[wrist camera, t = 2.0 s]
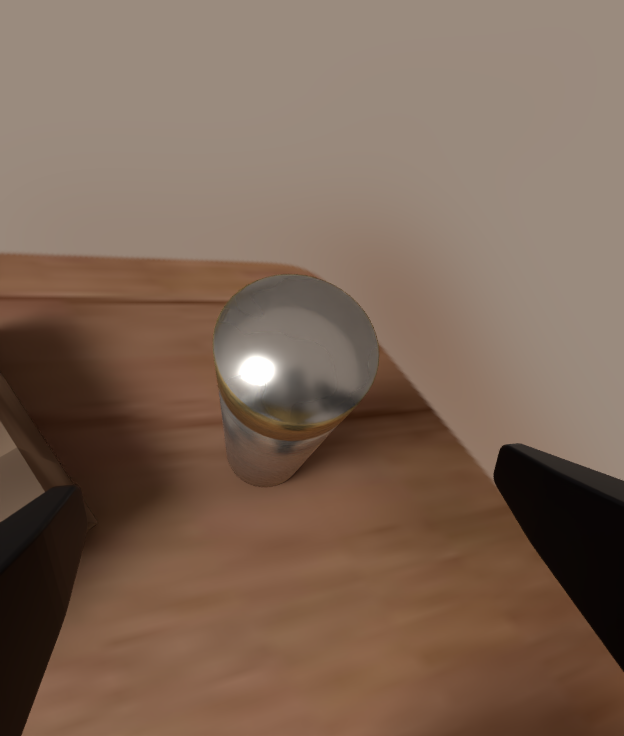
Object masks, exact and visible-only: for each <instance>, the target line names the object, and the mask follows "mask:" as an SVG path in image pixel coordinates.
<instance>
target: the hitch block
mask: <svg viewBox="0 0 624 736" xmlns="http://www.w3.org/2000/svg"><path fill="white" fill-rule="evenodd" d="M62 485H73V483H72V482H71V480H70V479H69V477H68V476H67V474H66V473H65V471H64V469H63V468H62V466H61V465H60V463H59V462H58V460H57V459H56V457H55V456H54V454H53V452H52V451H51V449H50V448H49V446H48V445H47V443H46V442H45V440H44V439H43V437H42V435H41V434H40V432H39V431H38V429H37V428H36V426H35V425H34V423H33V422H32V420H31V418H30V417H29V415H28V414H27V412H26V411H25V409H24V408H23V406H22V405H21V403H20V401H19V400H18V398H17V397H16V395H15V394H14V392H13V391H12V389H11V388H10V386H9V384H8V383H7V381H6V380H5V378H4V377H3V375H2V374H1V372H0V522H2V521H3V520H4V519H6V518H7V517H9V516H10V515H12V514H13V513H15V512H16V511H18V510H19V509H21V508H22V507H24V506H25V505H26V504H28V503H29V502H31V501H32V500H34V499H35V498H37V497H38V496H40V495H41V494H43V493H44V492H46V491H47V490H49V489H50V488H52V487H54V486H62ZM84 505H85V509H86V514H87V519H88V528H87V531H88V530H89V529H90V528H92V527H93V526H95V525H96V524H97V523H98V522H97V520H96V519H95V517H94V516H93V514H92V513H91V511H90V510H89V508H88V507H87V505H86V503H85V502H84Z"/></svg>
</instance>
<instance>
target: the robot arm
mask: <svg viewBox="0 0 624 736" xmlns="http://www.w3.org/2000/svg"><path fill="white" fill-rule="evenodd" d="M494 482H495V484H496V486H497V488H498V489H499V491H500V493H501V495H502V496H503V498H504V500H505V501H506V503H507V505H508V506H509V508H510V510H511V511H512V513H513V515H514V516H515V518H516V520H517V521H518V523H519V525H520V526H521V528H522V530H523V531H524V533H525V535H526V536H527V538H528V539H529V541H530V542H531V544H532V545H533V547H534V548H535V550H536V551H537V553H538V554H539V555H540V557H541V558H542V560H543V561H544V562H545V564H546V565H547V566H548V568H549V569H550V571H551V572H552V573H553V575H554V576H555V578H556V579H557V580H558V582H559V583H560V584H561V586H562V587H563V589H564V590H565V591H566V593H567V594H568V596H569V597H570V598H571V600H572V601H573V602H574V604H575V605H576V607H577V608H578V609H579V611H580V612H581V614H582V615H583V616H584V618H585V619H586V620H587V622H588V623H589V625H590V626H591V627H592V629H593V630H594V632H595V633H596V634H597V636H598V637H599V638H600V640H601V641H602V643H603V644H604V645H605V647H606V648H607V650H608V651H609V652H610V654H611V655H612V656H613V658H614V659H615V661H616V662H617V663H618V665H619V666H620V668H621V669H622V670H623V672H624V481H622V480H620V479H617V478H614V477H611V476H609V475H606V474H603V473H601V472H598V471H595V470H592V469H590V468H587V467H584V466H581V465H579V464H575V463H573V462H570V461H567V460H565V459H562V458H559V457H556V456H554V455H551V454H548V453H545V452H543V451H540V450H537V449H534V448H532V447H529V446H526V445H523V444H518V443H517V444H507V445H503V446H502V447H501V448H500V451H499V454H498V458H497V462H496V466H495V470H494ZM87 528H88V519H87V514H86V509H85V505H84V500H83V496H82V492H81V489H80V487H79V486H78V485H76V484H73V485H62V486H54V487H52V488H50V489H49V490H47V491H46V492H44V493H43V494H41V495H40V496H38V497H37V498H35V499H34V500H32V501H31V502H29V503H28V504H26V505H25V506H24V507H22V508H21V509H19V510H18V511H16V512H15V513H13V514H12V515H10V516H9V517H7V518H6V519H4V520H3V521H2V522H0V736H21V735H22V732H23V730H24V727H25V724H26V722H27V719H28V716H29V713H30V711H31V708H32V705H33V703H34V700H35V697H36V695H37V692H38V689H39V686H40V684H41V681H42V678H43V676H44V673H45V670H46V668H47V665H48V662H49V659H50V657H51V654H52V651H53V649H54V646H55V643H56V641H57V638H58V635H59V632H60V630H61V627H62V624H63V621H64V618H65V615H66V612H67V608H68V605H69V601H70V597H71V593H72V589H73V585H74V581H75V577H76V573H77V569H78V565H79V561H80V557H81V553H82V550H83V546H84V542H85V538H86V534H87Z"/></svg>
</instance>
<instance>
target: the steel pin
mask: <svg viewBox="0 0 624 736" xmlns="http://www.w3.org/2000/svg"><path fill="white" fill-rule="evenodd" d="M213 355H214V362H215V370H216V378H217V383H218V388H219V396H220V404H221V412H222V420H223V428H224V437H225V445H226V453H227V458H228V462H229V464H230V466H231V468H232V470H233V471H234V473H235V474H236V475H237V476H238V477H239V478H240V479H241V480H243V481H244V482H246V483H248V484H250V485H253V486H258V487H272V486H276V485H279V484H281V483H283V482H285V481H286V480H288V479H289V478H290V477H291V476H292V475H293V474H294V473H295V472H296V471H297V470H298V469H299V468H300V467H301V465H302V464H303V463H304V462H305V461H306V460H307V459H308V458H309V457H310V455H311V454H312V453H313V452H314V451H315V450H316V449H317V448H318V447H319V445H320V444H321V443H322V442H323V441H324V440H325V439H326V438H327V437H328V435H329V434H330V433H331V432H332V431H333V430H334V429H335V428H336V427H337V425H339V424H340V423H341V422H342V421H343V420H344V419H345V418H346V417H347V416H348V414H349V413H350V412H351V411H352V410H353V409H354V408H355V407H356V406H357V405H358V403H359V402H360V401H361V400H362V399H363V398H364V396H365V395H366V394H367V393H368V391H369V389H370V388H371V386H372V384H373V382H374V379H375V377H376V374H377V369H378V365H379V345H378V340H377V336H376V333H375V330H374V327H373V325H372V323H371V321H370V319H369V317H368V316H367V314H366V313H365V311H364V310H363V309H362V308H361V306H360V305H359V304H358V303H357V302H356V301H355V300H354V299H353V298H352V297H351V296H350V295H348V294H347V293H346V292H344V291H343V290H341V289H340V288H338V287H336V286H335V285H333V284H331V283H329V282H326V281H324V280H321V279H318V278H315V277H311V276H306V275H299V274H281V275H274V276H269V277H265V278H262V279H259V280H257V281H255V282H252V283H250V284H248V285H247V286H245V287H244V288H242V289H241V290H239V291H238V292H237V293H236V294H235V295H234V296H232V298H231V299H230V300H229V301H228V302H227V303H226V305H225V306H224V308H223V309H222V311H221V313H220V315H219V317H218V319H217V322H216V325H215V329H214V334H213Z"/></svg>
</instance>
